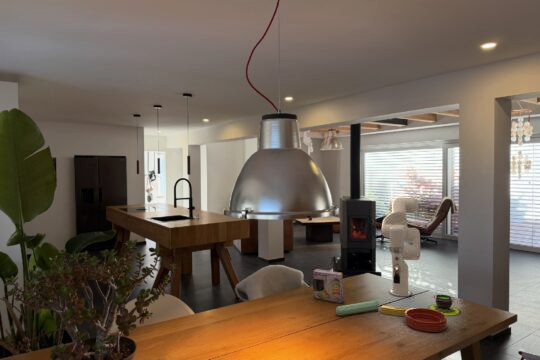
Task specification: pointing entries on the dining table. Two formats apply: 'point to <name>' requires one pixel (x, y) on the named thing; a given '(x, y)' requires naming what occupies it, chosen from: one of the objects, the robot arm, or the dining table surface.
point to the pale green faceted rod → (357, 308)
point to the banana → (393, 310)
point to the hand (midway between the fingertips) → (396, 280)
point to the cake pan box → (328, 285)
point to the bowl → (425, 319)
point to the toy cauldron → (444, 305)
